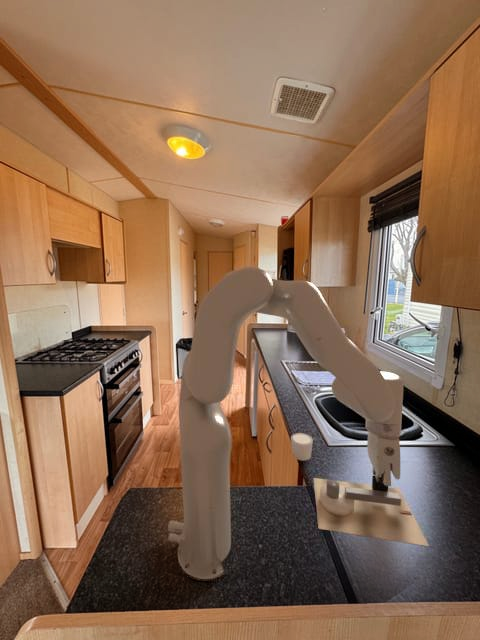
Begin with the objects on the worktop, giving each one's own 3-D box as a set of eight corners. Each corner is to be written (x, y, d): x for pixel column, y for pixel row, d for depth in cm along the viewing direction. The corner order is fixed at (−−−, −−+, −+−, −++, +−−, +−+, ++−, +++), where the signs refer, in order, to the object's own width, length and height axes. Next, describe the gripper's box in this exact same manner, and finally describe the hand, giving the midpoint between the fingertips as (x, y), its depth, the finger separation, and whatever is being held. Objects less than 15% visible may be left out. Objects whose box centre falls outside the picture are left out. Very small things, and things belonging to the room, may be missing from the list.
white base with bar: (321, 513, 63) (322, 495, 63) (318, 487, 71) (318, 471, 70) (405, 525, 60) (406, 506, 59) (392, 497, 68) (393, 480, 67)
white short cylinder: (287, 462, 84) (287, 441, 83) (293, 450, 90) (294, 430, 89) (309, 468, 81) (310, 447, 80) (314, 455, 87) (315, 435, 86)
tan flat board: (318, 534, 60) (318, 527, 60) (313, 482, 75) (313, 477, 75) (428, 552, 56) (429, 545, 55) (399, 493, 71) (399, 487, 71)
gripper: (413, 443, 56) (408, 521, 59) (389, 410, 71) (386, 473, 73) (375, 440, 58) (372, 516, 60) (358, 408, 72) (356, 470, 75)
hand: (379, 492), depth 67 cm, fingers closed
